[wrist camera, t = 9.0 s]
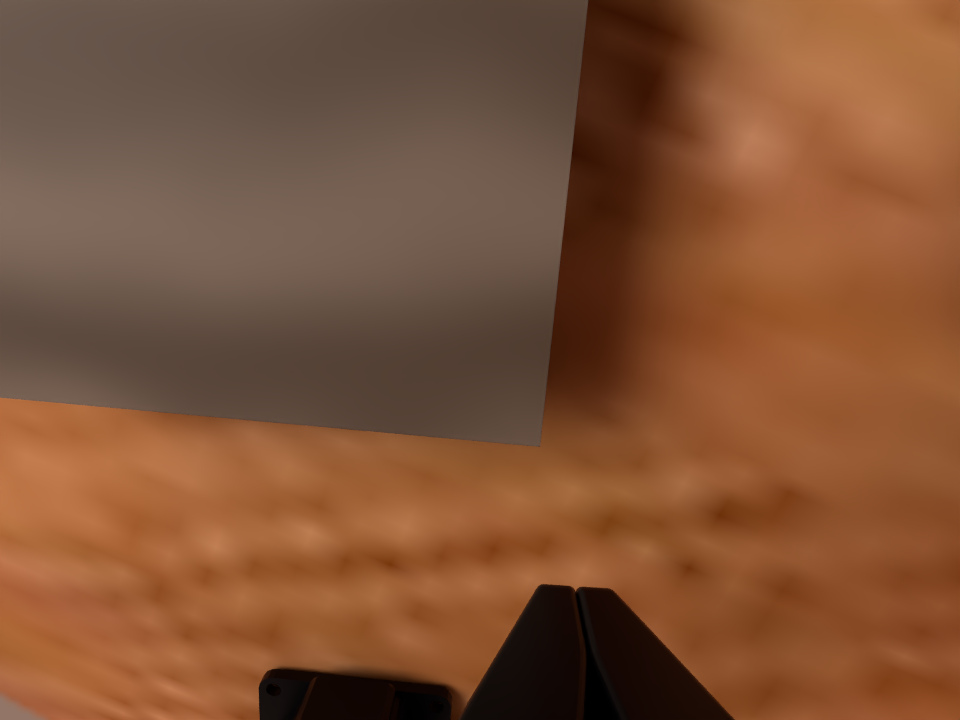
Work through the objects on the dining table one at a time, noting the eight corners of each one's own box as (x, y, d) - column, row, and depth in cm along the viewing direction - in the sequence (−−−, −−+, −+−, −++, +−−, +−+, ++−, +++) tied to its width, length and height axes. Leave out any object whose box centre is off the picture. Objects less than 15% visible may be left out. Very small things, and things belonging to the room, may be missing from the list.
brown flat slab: (536, 389, 20) (539, 446, 16) (66, 347, 20) (-40, 393, 16) (606, -292, 15) (636, -446, 11) (-10, -325, 15) (-186, -484, 12)
